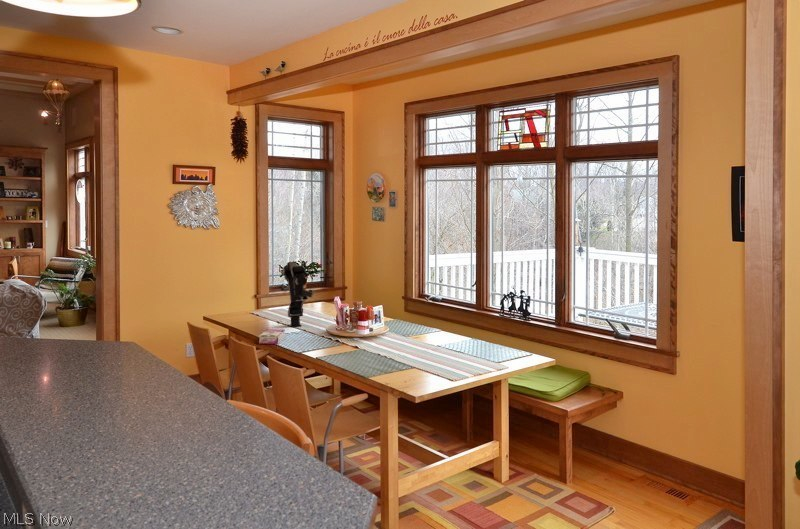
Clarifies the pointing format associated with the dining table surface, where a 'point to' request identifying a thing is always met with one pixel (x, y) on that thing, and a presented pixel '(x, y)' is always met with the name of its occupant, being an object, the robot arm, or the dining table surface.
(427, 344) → the dining table surface
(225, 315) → the dining table surface
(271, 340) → the candy bar box
